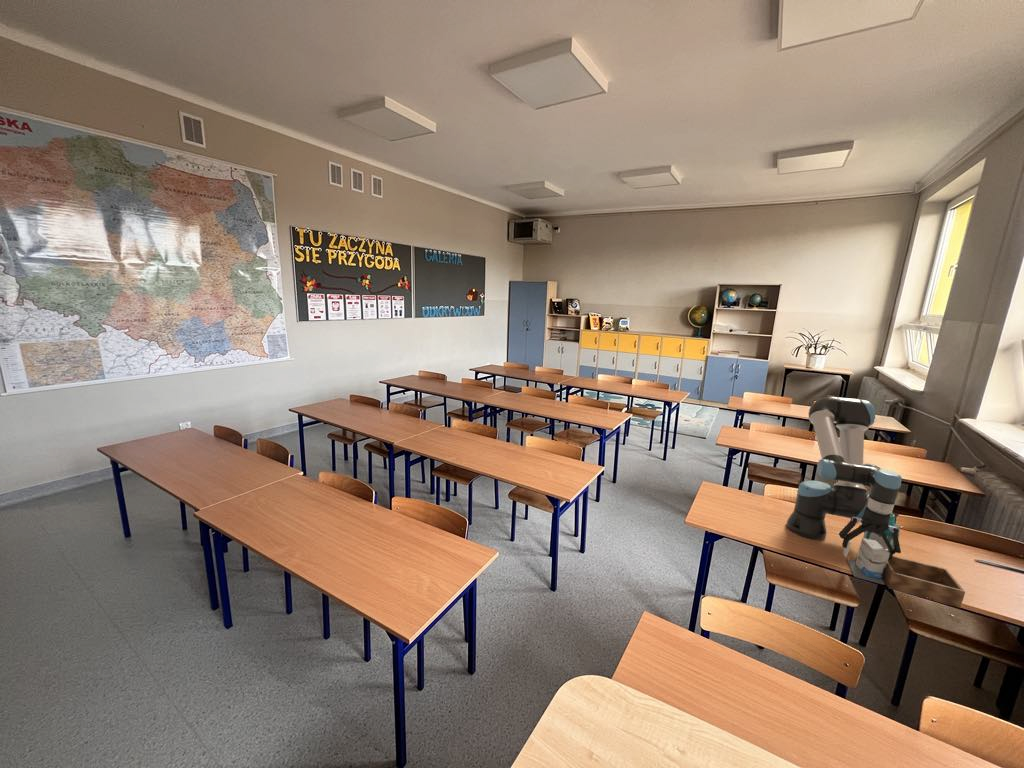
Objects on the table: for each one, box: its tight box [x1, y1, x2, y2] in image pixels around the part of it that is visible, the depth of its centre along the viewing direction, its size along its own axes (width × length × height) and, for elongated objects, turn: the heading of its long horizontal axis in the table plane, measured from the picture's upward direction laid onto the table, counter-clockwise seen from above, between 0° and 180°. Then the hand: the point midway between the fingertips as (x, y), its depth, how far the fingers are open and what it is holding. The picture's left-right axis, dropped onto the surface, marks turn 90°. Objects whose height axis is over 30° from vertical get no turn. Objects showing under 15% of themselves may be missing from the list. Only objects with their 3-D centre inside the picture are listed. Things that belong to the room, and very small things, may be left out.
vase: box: [862, 512, 900, 549], centre depth 174 cm, size 11×11×19 cm
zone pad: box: [846, 558, 885, 585], centre depth 164 cm, size 9×12×1 cm
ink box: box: [856, 537, 888, 579], centre depth 162 cm, size 8×5×12 cm, turn 165°
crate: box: [881, 555, 966, 609], centre depth 156 cm, size 20×15×6 cm
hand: (863, 560), depth 164 cm, fingers open, 11 cm apart
